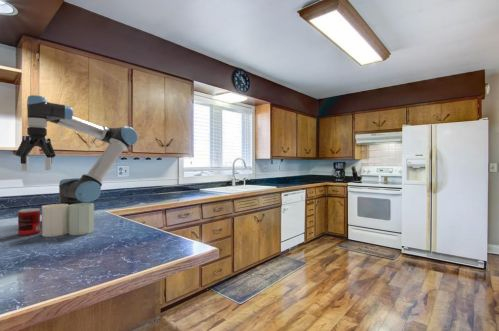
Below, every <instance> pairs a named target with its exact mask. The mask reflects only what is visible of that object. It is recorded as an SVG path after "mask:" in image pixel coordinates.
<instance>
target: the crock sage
mask: <svg viewBox="0 0 499 331" xmlns="http://www.w3.org/2000/svg"><path fill="white" fill-rule="evenodd" d="M94 231H95V204H94V203H92V202H83V203H79V204H72V205H68V233H67V234H68V235H69V236H82V235H83V236H84V235H88V234H93V233H94Z"/></svg>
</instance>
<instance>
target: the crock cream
mask: <svg viewBox="0 0 499 331" xmlns="http://www.w3.org/2000/svg"><path fill="white" fill-rule="evenodd" d="M67 234H69V233H68V204H59V203H56V204H55V203H54V204H46V205H41V236H42V237H45V238H52V237H59V236H64V235H67Z"/></svg>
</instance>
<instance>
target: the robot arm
mask: <svg viewBox="0 0 499 331" xmlns="http://www.w3.org/2000/svg"><path fill="white" fill-rule="evenodd" d="M26 110H27V111H26V112H27V114H26V116H27V118H26V119H27V127H26V128H27V131H26V133H27V135H23V136H21V137H22V138H21V142H20V144H19V146H18V149H17V151H16V152H15V155H16V156H18V157H20V164H21V171H22V172H23V171H24V172H25V171H27V172H28V171H29V156H28V155H29V154H30V152H31V151H32V150H33V148H34V147H37V148H38V147H39V148H40V149H41V151H42V153H43V154H44V155H45V156H46V157H45V158H44V159H45V160H44V161H45V166H44V167H45V168H44V169H45V171H52V164H53V158H55V157H56V156H57V155H56V153H55V150H54V147H53V145H52V141H51V140H52V139H51V138H49V137H48V138H46V137H47V135H48V133H47V132H48V130H47V126H48V123H53V124H56V125H58V126H61V127H65V128H68V129H71V130H74V131H77V132H80V133H82V134H84V135H85V134H86V135H89V136H90V137H91V136H92V137H94V138H96V139H97V140H98V141H102V142H104V143H107V144H108V146H107V148H106V149H105V150H104V151H103V152H102V154H101V155H100V156H99V158H98V159H97V160H96V161H95V163H94V164H93V166H92V167H91V168H90V169H89V171H88V173H85V174H84V173H83V174H82V175H81V177H76V178H75V177H74V178H66V179H65V178H64V179H61V180H59V185H58V187H59V188H58V191H59V195H58V196H59V200H58V201H59V203H58V204H68V205H72V204H79V203H92V202H94V201H95V200H97V199H98V198H99V197H100V195H101V193H102V190H101V189H102V186H103V182H102V181H103V180H104V178H105V177H106V176H107V174H109V171H110V170H111V169H112V167H113V166H114V165H115V163H116V161H118V159H119V158H120V156H121V154H122V153H123V152H124V151H128V149H130V146H132V145H134V144H136V143H137V141H138V133H137V131H136V130H135V129H134V128H133V127H131V126H121V127H107V126H105V125H102V126H100V125H98V124H95V123H93V122H90V121H87V120H84V119H82V118H79V117H78V116H77V117H76V116H74V109H73V107H72V106H69V105H65V104H59V103H54V102H48V100H47V98H46V97H45V96H42V95H35V94H33V95H32V94H31V95H29V96H27V101H26Z"/></svg>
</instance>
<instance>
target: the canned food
mask: <svg viewBox="0 0 499 331" xmlns="http://www.w3.org/2000/svg"><path fill="white" fill-rule="evenodd" d="M40 209H41V208H35V207H34V208H23V209H19V210H18V211H17V212H18V213H17V214H18V216H17V217H18V218H17V219H18V220H17V221H18V224H17V225H18V227H17V228H18V230H17V232H18V235H19V236H21V237H25V236H26V237H27V236H34V235H38V234H40V232H41V210H40Z"/></svg>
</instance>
